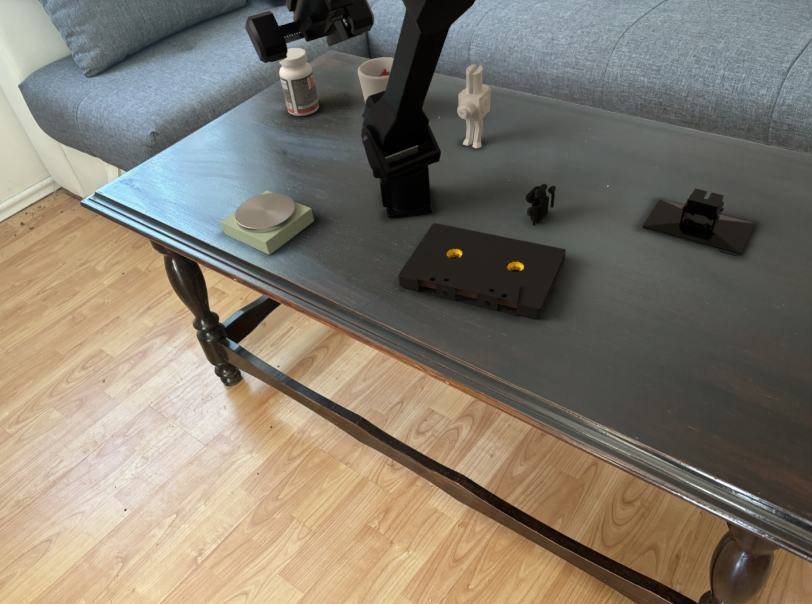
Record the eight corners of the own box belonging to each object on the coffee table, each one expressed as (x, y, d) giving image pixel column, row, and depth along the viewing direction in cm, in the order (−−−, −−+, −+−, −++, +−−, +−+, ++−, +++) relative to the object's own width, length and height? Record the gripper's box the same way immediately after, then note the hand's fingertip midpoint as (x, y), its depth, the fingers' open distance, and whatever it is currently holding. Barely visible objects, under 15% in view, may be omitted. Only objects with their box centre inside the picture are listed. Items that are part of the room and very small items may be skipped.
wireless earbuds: (530, 234, 87) (533, 202, 84) (514, 228, 88) (516, 196, 85) (556, 208, 91) (559, 176, 87) (540, 202, 92) (543, 171, 88)
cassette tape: (398, 287, 82) (397, 274, 80) (434, 234, 89) (433, 220, 87) (539, 321, 76) (540, 307, 74) (565, 261, 83) (566, 247, 81)
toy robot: (496, 133, 106) (498, 59, 98) (473, 156, 102) (473, 80, 93) (475, 128, 108) (475, 55, 99) (451, 150, 104) (449, 75, 95)
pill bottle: (324, 102, 118) (313, 46, 111) (313, 118, 115) (302, 61, 107) (294, 101, 120) (282, 46, 112) (283, 116, 116) (270, 60, 109)
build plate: (754, 226, 85) (765, 195, 82) (739, 257, 81) (750, 227, 78) (659, 200, 90) (666, 171, 87) (640, 229, 86) (647, 199, 83)
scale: (271, 202, 97) (266, 184, 95) (315, 220, 93) (311, 202, 91) (225, 234, 93) (218, 216, 90) (269, 255, 88) (264, 237, 86)
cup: (427, 100, 116) (424, 55, 110) (423, 123, 110) (420, 76, 105) (367, 102, 117) (361, 57, 111) (360, 124, 112) (354, 78, 106)
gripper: (355, -75, 93) (333, -11, 107) (231, -44, 87) (226, 19, 102) (388, -1, 94) (361, 53, 108) (267, 35, 88) (257, 86, 103)
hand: (302, 51), depth 105 cm, fingers open, 9 cm apart
